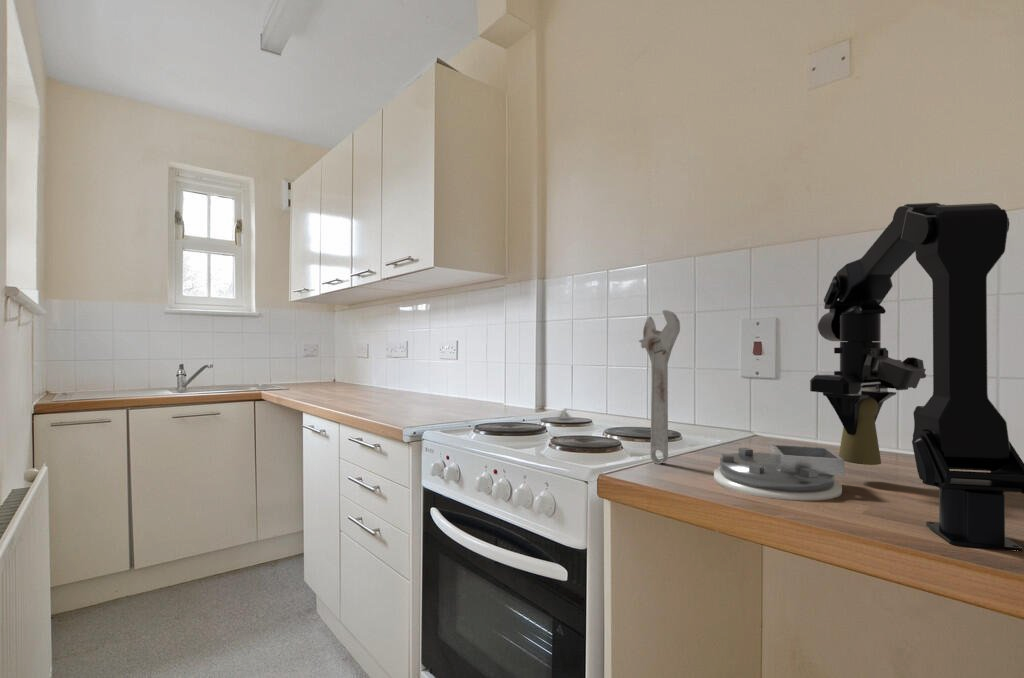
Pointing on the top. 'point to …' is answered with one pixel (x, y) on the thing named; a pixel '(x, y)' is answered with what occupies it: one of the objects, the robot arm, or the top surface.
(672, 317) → the wrench
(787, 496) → the base plate
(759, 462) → the grey tabbed disc
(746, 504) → the top surface
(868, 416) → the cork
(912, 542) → the top surface
